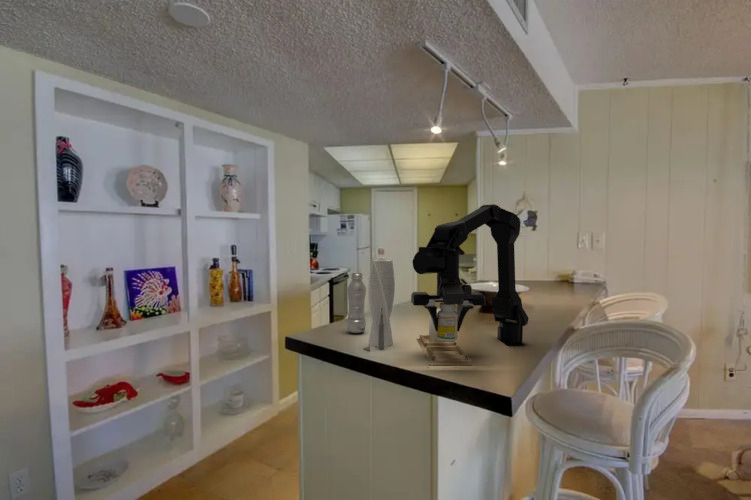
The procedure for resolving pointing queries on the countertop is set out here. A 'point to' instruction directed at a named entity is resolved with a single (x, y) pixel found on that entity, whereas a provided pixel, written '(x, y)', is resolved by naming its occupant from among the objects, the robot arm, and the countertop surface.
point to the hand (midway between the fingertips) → (447, 331)
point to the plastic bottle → (356, 304)
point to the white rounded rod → (433, 330)
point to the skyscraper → (381, 302)
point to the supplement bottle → (447, 323)
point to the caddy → (442, 351)
